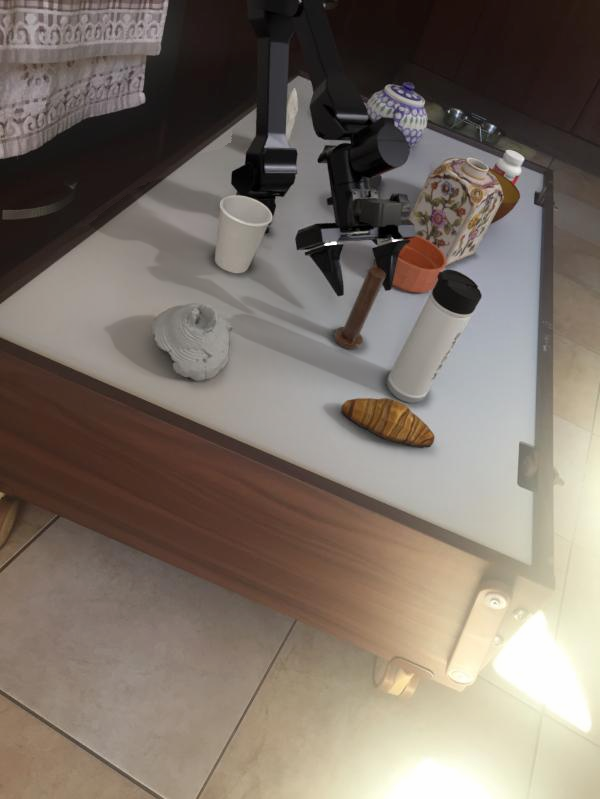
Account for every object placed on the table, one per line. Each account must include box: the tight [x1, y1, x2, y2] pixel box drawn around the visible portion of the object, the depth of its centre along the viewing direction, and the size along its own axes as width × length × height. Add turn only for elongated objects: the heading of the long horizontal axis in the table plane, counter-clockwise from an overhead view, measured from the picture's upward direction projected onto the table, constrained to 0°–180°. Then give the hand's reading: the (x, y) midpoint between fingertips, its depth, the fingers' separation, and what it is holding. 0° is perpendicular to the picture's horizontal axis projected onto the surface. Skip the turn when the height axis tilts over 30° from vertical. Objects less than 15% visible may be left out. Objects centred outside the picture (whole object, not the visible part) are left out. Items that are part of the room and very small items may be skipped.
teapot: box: [365, 81, 428, 150], centre depth 173 cm, size 25×15×15 cm, turn 166°
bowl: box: [442, 157, 521, 225], centre depth 155 cm, size 18×18×10 cm
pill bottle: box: [492, 149, 525, 186], centre depth 170 cm, size 6×6×11 cm
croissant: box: [341, 397, 436, 448], centre depth 99 cm, size 14×7×5 cm, turn 77°
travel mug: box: [385, 268, 483, 404], centre depth 103 cm, size 6×7×20 cm
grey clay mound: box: [150, 303, 234, 382], centre depth 97 cm, size 12×12×11 cm
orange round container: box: [373, 235, 447, 294], centre depth 132 cm, size 12×12×6 cm
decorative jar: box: [407, 157, 504, 266], centre depth 141 cm, size 12×12×18 cm
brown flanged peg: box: [333, 266, 386, 351], centre depth 109 cm, size 4×4×13 cm
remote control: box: [369, 174, 383, 192], centre depth 155 cm, size 5×2×15 cm
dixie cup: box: [214, 194, 273, 274], centre depth 116 cm, size 8×8×10 cm
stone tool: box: [286, 87, 299, 142], centre depth 149 cm, size 8×3×15 cm, turn 156°
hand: (365, 293), depth 108 cm, fingers open, 9 cm apart
